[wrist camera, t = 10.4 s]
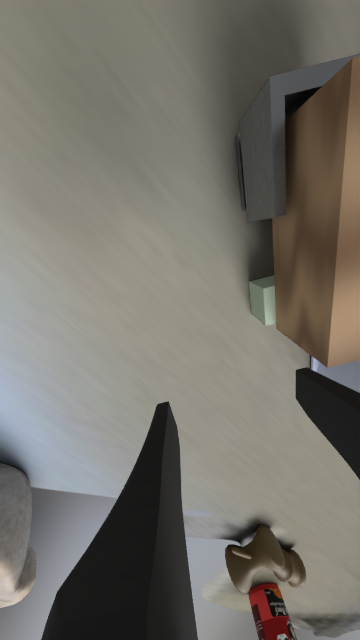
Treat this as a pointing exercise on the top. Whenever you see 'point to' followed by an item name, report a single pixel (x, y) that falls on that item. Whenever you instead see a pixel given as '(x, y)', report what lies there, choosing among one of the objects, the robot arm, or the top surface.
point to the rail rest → (263, 299)
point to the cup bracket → (274, 137)
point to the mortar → (15, 536)
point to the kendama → (263, 561)
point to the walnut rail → (322, 224)
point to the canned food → (270, 613)
